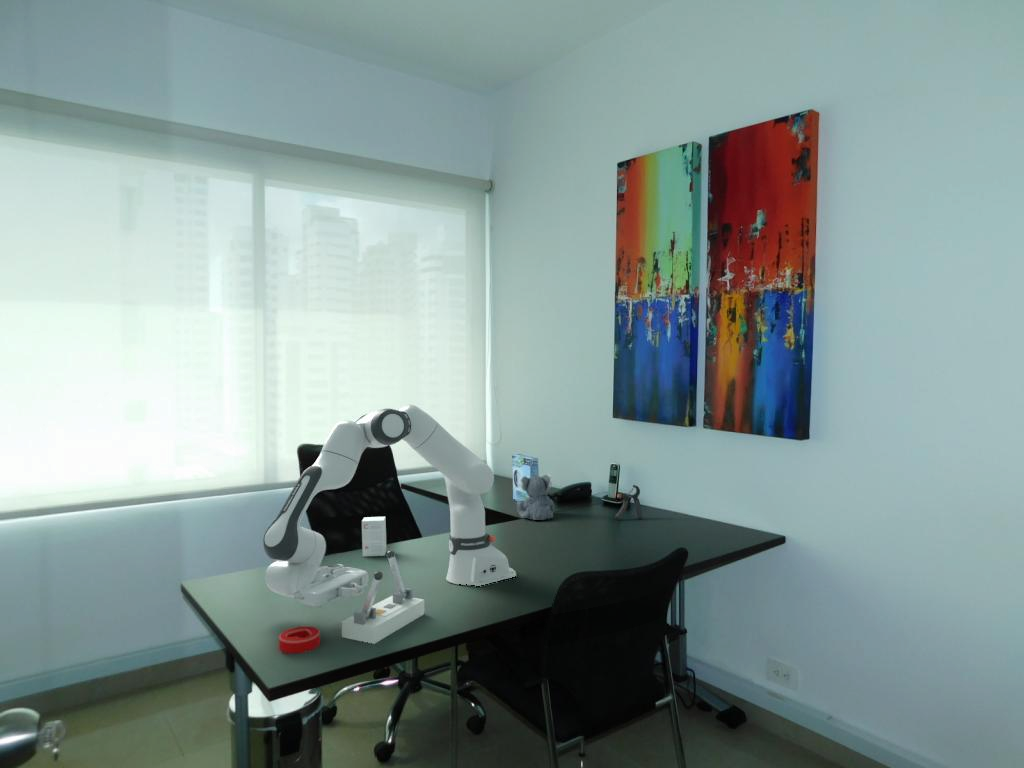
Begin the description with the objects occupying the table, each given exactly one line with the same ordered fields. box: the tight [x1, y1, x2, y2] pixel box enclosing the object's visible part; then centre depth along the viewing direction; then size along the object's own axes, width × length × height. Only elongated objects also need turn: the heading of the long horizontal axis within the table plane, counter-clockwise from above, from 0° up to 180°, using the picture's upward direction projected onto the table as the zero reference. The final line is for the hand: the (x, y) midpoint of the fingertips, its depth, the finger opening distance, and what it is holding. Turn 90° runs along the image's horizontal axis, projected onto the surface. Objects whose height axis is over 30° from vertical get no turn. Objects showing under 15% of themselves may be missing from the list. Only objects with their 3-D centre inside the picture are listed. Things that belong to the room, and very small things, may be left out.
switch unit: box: [341, 587, 425, 645], centre depth 177 cm, size 22×10×6 cm, turn 153°
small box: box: [361, 516, 387, 557], centre depth 244 cm, size 8×6×13 cm
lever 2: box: [386, 550, 409, 599], centre depth 184 cm, size 3×2×13 cm
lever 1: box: [359, 570, 384, 619], centre depth 168 cm, size 3×2×13 cm
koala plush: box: [516, 473, 556, 521], centre depth 300 cm, size 17×18×20 cm
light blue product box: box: [511, 453, 540, 502], centre depth 334 cm, size 20×5×23 cm, turn 27°
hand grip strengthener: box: [614, 484, 643, 520], centre depth 294 cm, size 2×12×15 cm, turn 101°
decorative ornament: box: [278, 626, 321, 654], centre depth 164 cm, size 10×10×3 cm
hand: (359, 591), depth 170 cm, fingers closed
